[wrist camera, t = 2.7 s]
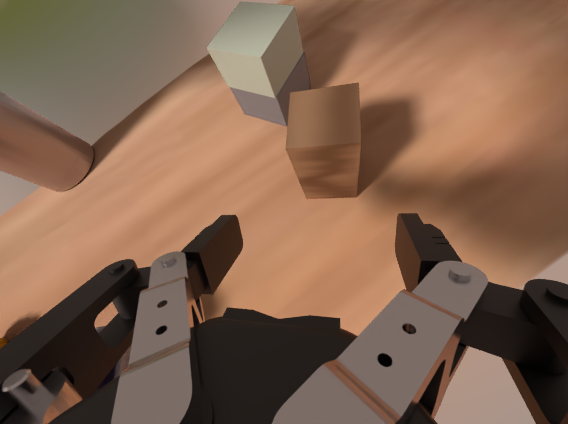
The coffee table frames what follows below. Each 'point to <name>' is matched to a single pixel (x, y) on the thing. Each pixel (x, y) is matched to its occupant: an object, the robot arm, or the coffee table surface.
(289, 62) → the tower top
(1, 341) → the food
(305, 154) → the walnut block
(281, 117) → the tower base
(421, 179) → the coffee table surface
